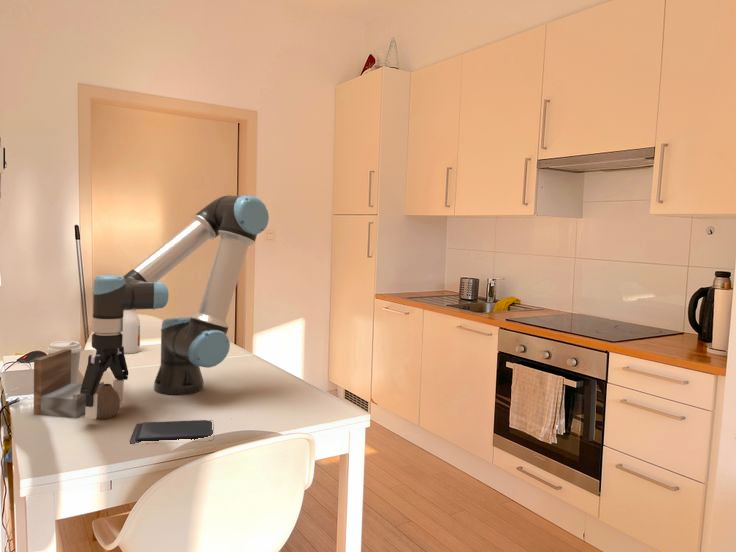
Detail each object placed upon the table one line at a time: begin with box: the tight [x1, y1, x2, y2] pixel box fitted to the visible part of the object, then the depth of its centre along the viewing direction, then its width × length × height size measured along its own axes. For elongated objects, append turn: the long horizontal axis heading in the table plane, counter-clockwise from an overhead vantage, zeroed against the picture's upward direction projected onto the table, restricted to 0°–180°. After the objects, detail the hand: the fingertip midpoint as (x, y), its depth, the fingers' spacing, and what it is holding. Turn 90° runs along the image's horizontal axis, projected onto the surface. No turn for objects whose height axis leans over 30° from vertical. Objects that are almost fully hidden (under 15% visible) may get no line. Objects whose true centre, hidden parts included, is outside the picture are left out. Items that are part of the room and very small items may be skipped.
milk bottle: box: [120, 310, 141, 355], centre depth 228 cm, size 8×8×20 cm
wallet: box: [129, 419, 214, 445], centre depth 146 cm, size 20×2×15 cm
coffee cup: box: [46, 340, 83, 384], centre depth 173 cm, size 10×10×15 cm
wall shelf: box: [33, 349, 105, 419], centre depth 159 cm, size 12×14×15 cm
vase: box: [96, 383, 121, 419], centre depth 155 cm, size 7×7×9 cm
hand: (104, 410), depth 155 cm, fingers open, 13 cm apart
